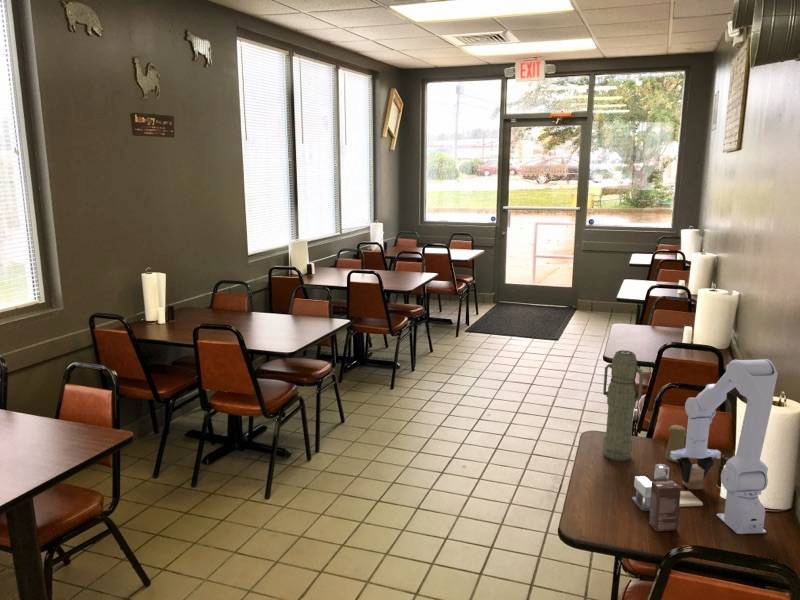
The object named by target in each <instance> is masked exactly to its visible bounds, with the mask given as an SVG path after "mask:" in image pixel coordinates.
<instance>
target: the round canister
mask: <svg viewBox="0 0 800 600" xmlns="http://www.w3.org/2000/svg"><path fill="white" fill-rule="evenodd" d="M653 474H654V477H653V478H654V480H655V481H669V479H670V478H669V477H670V476H669V475H670V466H668V465H667V464H663V463H657V464H655V466H654V473H653Z"/></svg>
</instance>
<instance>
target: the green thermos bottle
mask: <svg viewBox="0 0 800 600" xmlns="http://www.w3.org/2000/svg"><path fill="white" fill-rule="evenodd" d="M609 368H610V369H611V372H610V375H611V378H610V383H609V384H607V382H608V371H609ZM637 373H638V374H639V379H638V389H637V386H636V384H637V383H636V378H637ZM644 374H645V373H644V371H643V369H642V368H639V367H638V359H637V356H636V354H635V353H634V352H632V351H630V350H622V349H621V350H617V351H615V354H614V355H613V358H612V361H611V363H608V364H607V365H605V367H604V377H603V390H602V391H603V396H606V398H607V399H606V403H607V415H606V416H607V417H606V431H605V434H604V436H603V456H604V457H605V456H606V457H605V458H607V459H609V458H610V459H609V460H612V461H615V462H616V461H617V462H625V461H629V460H631V459H632V452H633V444H634V443H633V442H634V440H633V435H632V434H633V433H632V432H633V425H634V424H633V422H634V412H635V411H634V410H635V408H636V405H637V401H639V400H641V399H642V391H643V384H644V378H645V377H644ZM607 385H608V387H607Z"/></svg>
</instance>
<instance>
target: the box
mask: <svg viewBox="0 0 800 600" xmlns="http://www.w3.org/2000/svg"><path fill="white" fill-rule="evenodd" d="M651 482H652V486H651V502H650V511H649V517H648V518H649V519H648V521H649V522H648V524H649V525H650V526H651V528H653V530H655V532H666V531H671V532H672V531H679V529H678V528H679V514H680V507H679V505H680V492H681V491H682V487H681V486H680V485H679V484H678V483H677V482H675V481H674V480H668V481H657V480H655V481H651Z"/></svg>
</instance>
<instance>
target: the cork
mask: <svg viewBox="0 0 800 600" xmlns="http://www.w3.org/2000/svg"><path fill="white" fill-rule="evenodd" d="M668 434H669V439H668V443H667V447H666V451H665V455H664V457H665V459H666V460H667V459H668V461H670V462H673V463H678V461H677V459H676V460H673V459H672V458H671V457H670V451H676V450H680V449H685V437H686V436H687V429H686V428H685V427H684V426H682V425H680V424H679V425H678V424H673V425H671V426H670V427H669V429H668Z"/></svg>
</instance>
